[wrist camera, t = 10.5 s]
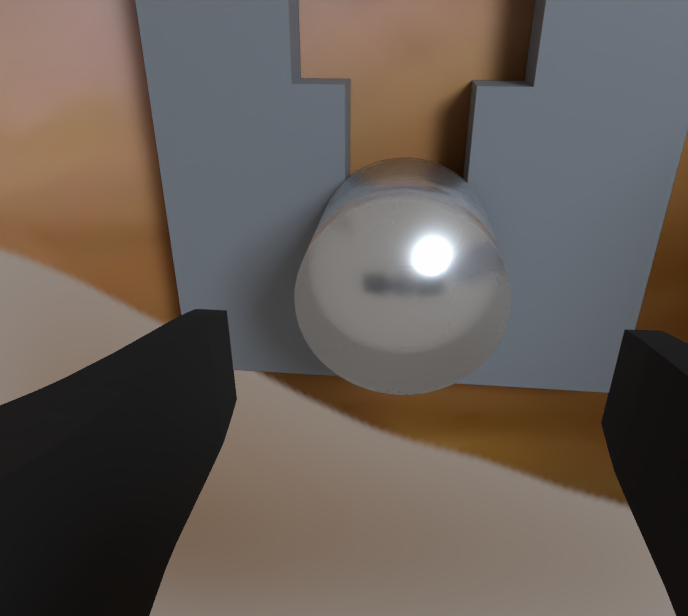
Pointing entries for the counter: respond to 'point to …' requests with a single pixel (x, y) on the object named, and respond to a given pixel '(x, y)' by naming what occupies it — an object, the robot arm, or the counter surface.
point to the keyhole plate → (479, 172)
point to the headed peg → (403, 280)
